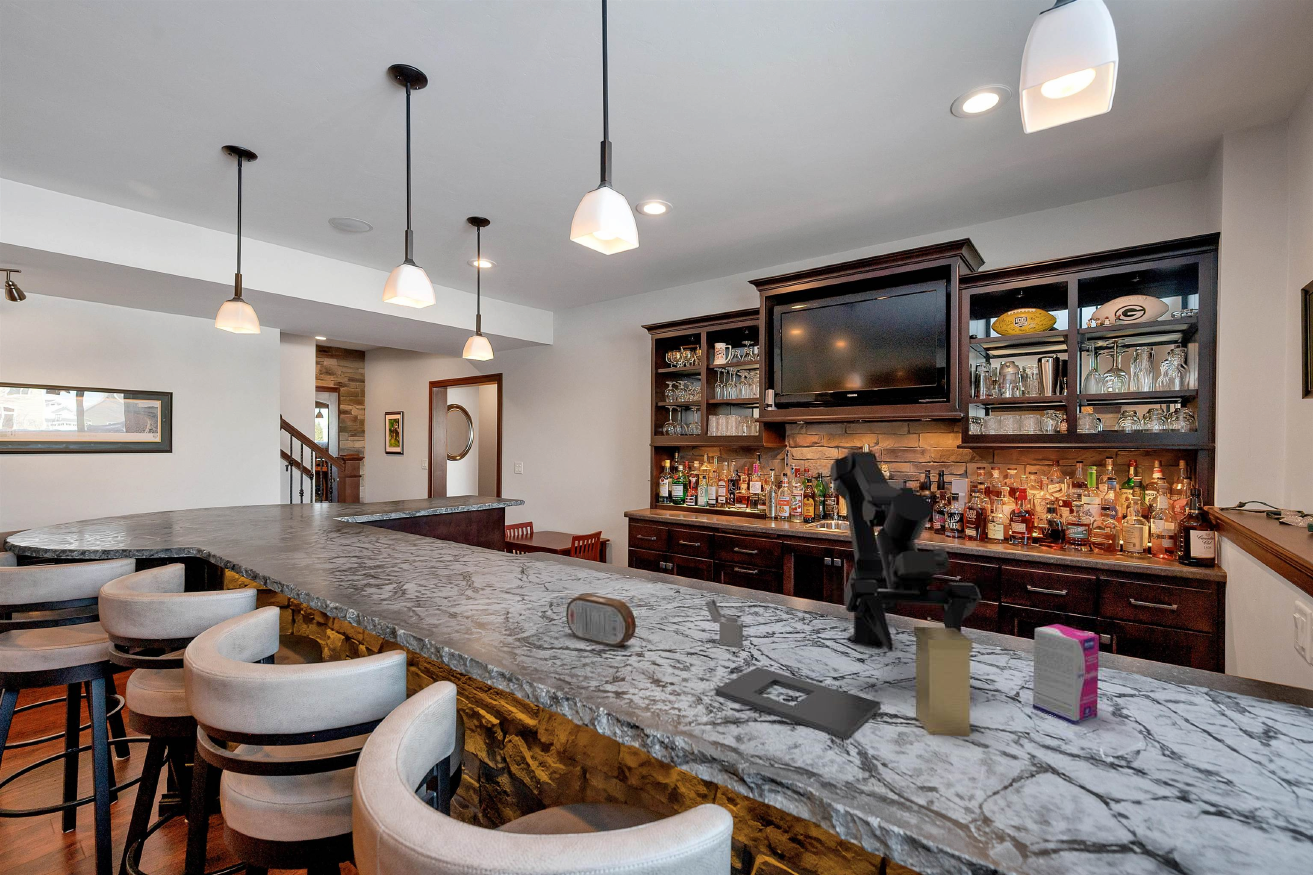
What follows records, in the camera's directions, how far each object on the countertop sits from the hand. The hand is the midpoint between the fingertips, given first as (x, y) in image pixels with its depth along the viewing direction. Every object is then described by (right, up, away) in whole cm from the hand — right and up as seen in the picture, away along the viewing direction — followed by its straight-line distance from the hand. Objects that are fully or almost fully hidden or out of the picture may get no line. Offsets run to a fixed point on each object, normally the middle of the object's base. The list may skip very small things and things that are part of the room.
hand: (923, 650), depth 84 cm
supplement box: (+19, -8, -2) cm, 21 cm away
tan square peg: (-1, -8, -6) cm, 10 cm away
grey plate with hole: (-18, -7, +1) cm, 20 cm away
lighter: (-26, -8, +26) cm, 37 cm away
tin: (-49, -8, +26) cm, 56 cm away
